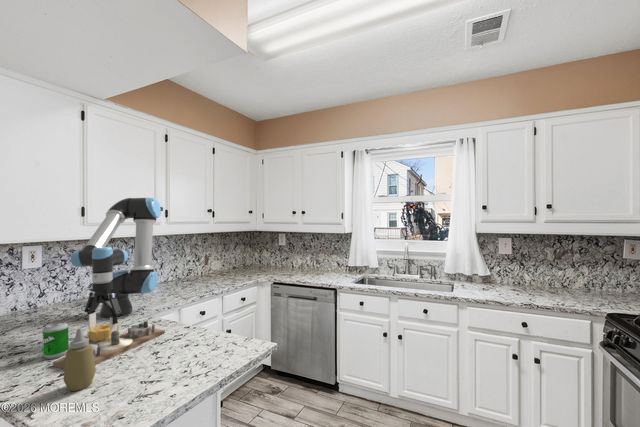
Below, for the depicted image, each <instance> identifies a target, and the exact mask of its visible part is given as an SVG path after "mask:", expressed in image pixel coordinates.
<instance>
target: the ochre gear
mask: <svg viewBox="0 0 640 427" xmlns="http://www.w3.org/2000/svg"><path fill="white" fill-rule="evenodd" d="M117 331H118V332H119V324H118V323H117ZM111 334H112V332H110V322H109V323H104V324H99V325H96V327H92V328H90V329H89V328H88V330H87V338H88V339H89V342H90V341H91V342H93V343H94V342H96V343H97V342H100V341H108V340H110V339H111Z"/></svg>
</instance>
